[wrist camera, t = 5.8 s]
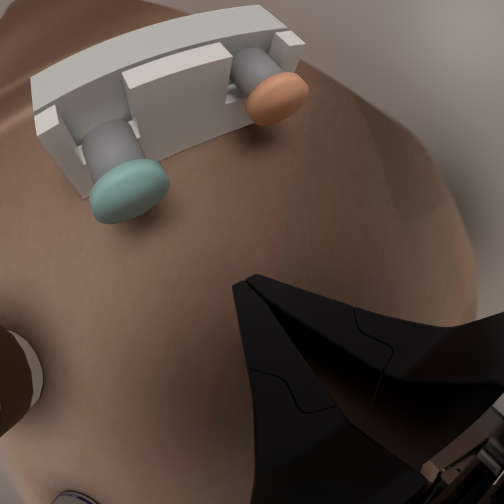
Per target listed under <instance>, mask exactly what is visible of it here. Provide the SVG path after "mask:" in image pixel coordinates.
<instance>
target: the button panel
mask: <svg viewBox="0 0 504 504" xmlns="http://www.w3.org/2000/svg"><path fill="white" fill-rule="evenodd" d="M252 47H257V48H261V49H262V50H264V51H265V52H266V53H267V54H268V55H269V56H270V57H271V59H272V60H273V61H274V62H275V63H276V64H277V65H278V66H279V67H280V68H281V69H282V70H283V71H284V72H293V73H294V72H295V69H296V67H297V64H298V62H299V59H300V56H301V54H302V52H303V49H304V47H305V43H304V42H303V41H302V40H301V39H300V38H298V37H297V36H296V35H295V34H294V33H293V32H292V31H287V27H286V26H285V25H284V24H282V23H281V22H280V21H279V20H277V19H276V18H275V17H274V16H273V15H271V14H270V13H269V12H268V11H266V10H265V9H264V8H262V7H261V6H260V5H251V6H242V7H235V8H227V9H221V10H215V11H209V12H204V13H199V14H194V15H189V16H185V17H181V18H176V19H172V20H169V21H165V22H161V23H158V24H154V25H151V26H147V27H144V28H141V29H138V30H135V31H132V32H129V33H126V34H123V35H120V36H117V37H115V38H112V39H110V40H107V41H104V42H102V43H99V44H97V45H95V46H92V47H90V48H88V49H85V50H83V51H81V52H79V53H77V54H74V55H72V56H70V57H68V58H66V59H64V60H62V61H60V62H58V63H56V64H54V65H52V66H50V67H49V68H47V69H45V70H43V71H41V72H40V73H38V74H36V75H34V76H33V77H31V90H32V101H33V110H34V113H35V115H36V116H34V118H35V125H36V132H37V137H38V138H39V140H40V141H41V143H42V144H43V146H44V147H45V148H46V150H47V151H48V153H49V154H50V156H51V157H52V158H53V160H54V161H55V162H56V164H57V165H58V167H59V168H60V169H61V171H62V172H63V173H64V175H65V176H66V177H67V179H68V180H69V181H70V183H71V184H72V185H73V187H74V188H75V189H76V190H77V192H78V193H79V194H80V196H81V197H82V198H83V199H86V198H88V197H89V194H90V191H91V189H92V187H93V186H94V184H93V181H92V178H91V176H90V173H89V170H88V167H87V164H86V161H85V158H84V155H83V152H82V142H83V139H84V138H85V136H86V135H87V133H88V132H89V131H90V130H91V129H93V128H94V127H95V126H97V125H98V124H100V123H103V122H105V121H108V120H114V119H119V120H124V121H126V122H128V123H129V124H130V125H131V127H132V129H133V131H134V133H135V136H136V138H137V140H138V142H139V144H140V146H141V148H142V150H143V152H144V154H145V156H146V158H147V159H151V160H155V161H157V162H159V161H161V160H163V159H165V158H167V157H170V156H172V155H174V154H176V153H179V152H181V151H183V150H186V149H188V148H191V147H193V146H195V145H198V144H200V143H203V142H205V141H208V140H210V139H213V138H215V137H218V136H221V135H223V134H226V133H229V132H231V131H234V130H237V129H239V128H242V127H245V126H248V125H251V124H254V122H253V120H252V119H251V118H250V116H249V115H248V114H247V112H246V109H245V104H246V101H247V99H246V98H245V97H244V95H243V94H242V93H241V92H240V90H239V89H238V88H237V87H236V85H235V84H234V83H233V82H232V81H231V79H230V78H229V77H230V71H231V65H232V59H233V57H234V56H235V55H236V54H237V53H239V52H240V51H242V50H244V49H247V48H252Z"/></svg>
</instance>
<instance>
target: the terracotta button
mask: <svg viewBox="0 0 504 504" xmlns="http://www.w3.org/2000/svg"><path fill="white" fill-rule="evenodd" d="M229 78H230V79H231V81H232V82H233V83H234V84H235V85H236V87H237V88H238V89H239V90H240V92H241V93H242V94H243V95H244V97H245V98H246V99H247V101H246V104H245V109H246V112H247V114H248V115H249V116H250V118H251V119H252V120H253V122H254V123H255V124H257V125H260V126H267V125H272V124H275V123H277V122H280V121H282V120H284V119H285V118H287V117H288V116H290V115H291V114H293V113H294V112H295V111H296V110H297V109H298V108H299V107H300V106H301V105H302V104H303V103H304V101H305V100H306V98H307V95H308V91H309V90H308V86H307V84H306V83H305V82H304V81H303V80H302V79H301V78H300V77H299V76H298V75H297V74H295V73H293V72H284V71H283V70H282V69H281V68H280V67H279V66H278V65H277V64H276V63H275V62H274V61H273V60H272V59H271V57H270V56H269V55H268V54H267V53H266V52H265V51H264V50H262V49H261V48H257V47H252V48H247V49H244V50H242V51H240V52H239V53H237V54H236V55H235V56H234V57H233V59H232V65H231V71H230V77H229Z"/></svg>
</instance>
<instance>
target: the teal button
mask: <svg viewBox="0 0 504 504" xmlns="http://www.w3.org/2000/svg"><path fill="white" fill-rule="evenodd" d="M82 152H83V155H84V158H85V161H86V164H87V167H88V170H89V173H90V176H91V178H92V181H93V184H94V186H93V187H92V189H91V191H90V194H89V202H90V205H91V208H92V210H93V213H94V216H95V218H96V219H97V220H98V221H99V222H101V223H105V224H115V223H121V222H124V221H128V220H130V219H133V218H135V217H137V216H139V215H141V214H143V213H145V212H146V211H148V210H149V209H151V208H152V207H154V206H155V205H156V204H157V203H158V202H159V201H160V200H161V199H162V198H163V197H164V196H165V194H166V193H167V191H168V189H169V185H170V183H169V179H168V177H167V175H166V173H165V171H164V170H163V168H162V166H161V164H160V163H159V162H157V161H155V160H151V159H147V158H146V156H145V154H144V152H143V150H142V148H141V146H140V144H139V142H138V140H137V138H136V136H135V133H134V131H133V129H132V127H131V125H130V124H129V123H128V122H126V121H124V120H119V119H114V120H108V121H105V122H103V123H100V124H98V125H97V126H95V127H94V128H93V129H91V130H90V131H89V132H88V133H87V135H86V136H85V138H84V139H83V142H82Z"/></svg>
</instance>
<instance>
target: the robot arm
mask: <svg viewBox="0 0 504 504" xmlns="http://www.w3.org/2000/svg"><path fill="white" fill-rule="evenodd" d="M232 291H233V297H234V302H235V308H236V313H237V319H238V324H239V329H240V335H241V340H242V345H243V351H244V356H245V361H246V366H247V370H248V371H247V372H248V377H249V382H250V389H251V395H252V405H253V423H254V453H255V470H254V482H253V488H252V494H251V500H250V504H504V474H503V475H502V476H501V477H500V478H499V480H498V481H497V483H496V484H495V485H493V483H494V482H495V481H496V480H497V478H498V477H499V476H500V474H501V473H502V472H503V470H504V312H501V313H498V314H495V315H492V316H489V317H486V318H483V319H480V320H477V321H473V322H470V323H467V324H463V325H460V326H455V327H438V326H432V325H427V324H422V323H417V322H412V321H407V320H402V319H397V318H393V317H389V316H385V315H381V314H377V313H374V312H370V311H367V310H364V309H361V308H358V307H353V306H351V305H348V304H345V303H342V302H339V301H336V300H333V299H330V298H327V297H324V296H321V295H318V294H315V293H312V292H309V291H306V290H303V289H300V288H297V287H294V286H291V285H288V284H285V283H282V282H279V281H276V280H274V279H271V278H268V277H265V276H262V275H259V274H254V275H252V276H250V277H248V278H246V279H245V281H243V280H242V281H240V282H238V283H236V284H234V285H232ZM428 460H430V461H431V462H432V463H433V464H434V465H435V466H436V467H437V468H438V469H439V470H440V471H439V473H438V474H437V477H436V479H435V480H434V482H433V483H432V482H430V481H428V480H427V479H426V478H425V477H424V476H423V475H422V474H421V473H420V471H421V468H422V465H423V464H424V463H426V462H427V461H428Z"/></svg>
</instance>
